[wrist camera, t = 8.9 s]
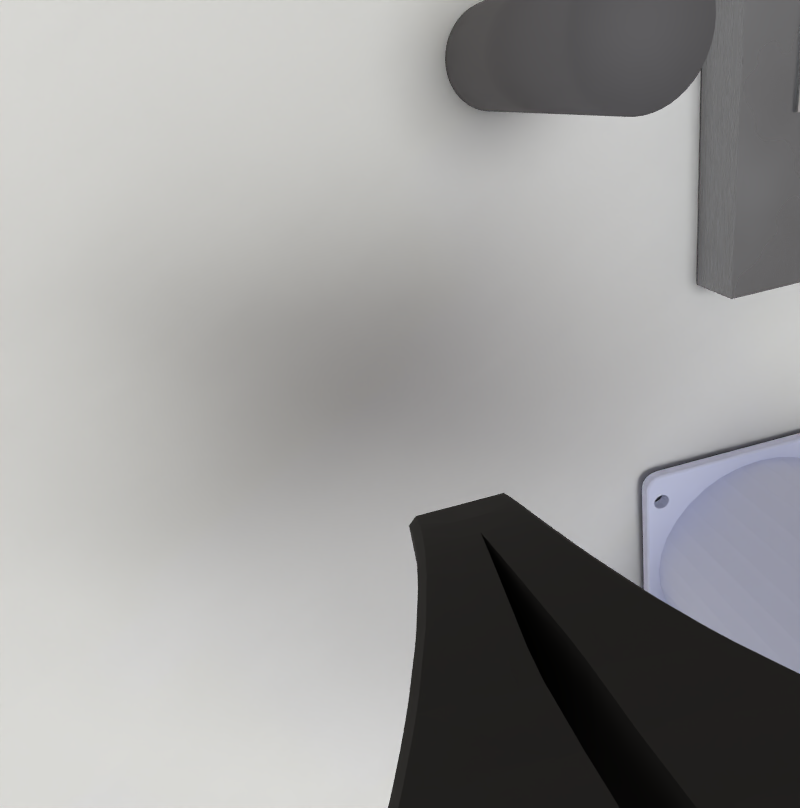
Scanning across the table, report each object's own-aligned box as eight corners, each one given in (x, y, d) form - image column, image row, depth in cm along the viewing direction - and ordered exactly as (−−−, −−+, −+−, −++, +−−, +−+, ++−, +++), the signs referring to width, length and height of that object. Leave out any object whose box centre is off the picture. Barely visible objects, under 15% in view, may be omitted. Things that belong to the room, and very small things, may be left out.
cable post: (543, 101, 17) (713, 100, 11) (452, 119, 17) (571, 130, 10) (535, -10, 16) (719, -82, 10) (438, 9, 16) (560, -53, 9)
